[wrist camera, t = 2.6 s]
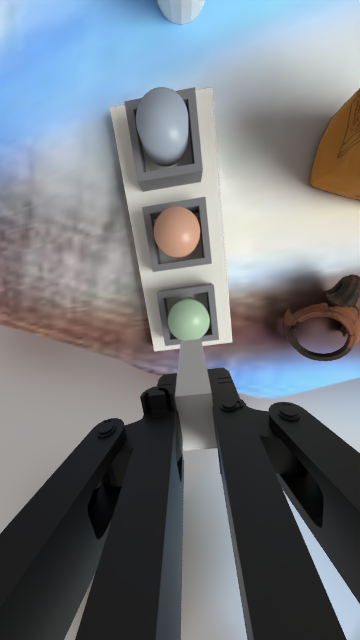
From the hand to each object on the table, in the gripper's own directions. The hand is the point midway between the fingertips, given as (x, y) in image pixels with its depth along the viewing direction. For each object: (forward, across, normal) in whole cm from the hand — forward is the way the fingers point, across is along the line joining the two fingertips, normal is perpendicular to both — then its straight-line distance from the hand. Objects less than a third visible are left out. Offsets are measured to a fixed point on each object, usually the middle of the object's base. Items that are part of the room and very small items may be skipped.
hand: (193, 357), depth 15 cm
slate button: (+12, 0, +20) cm, 24 cm away
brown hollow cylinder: (+18, +19, -3) cm, 26 cm away
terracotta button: (+12, 0, +10) cm, 16 cm away
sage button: (+13, 0, 0) cm, 13 cm away
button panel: (+17, 0, +10) cm, 20 cm away
